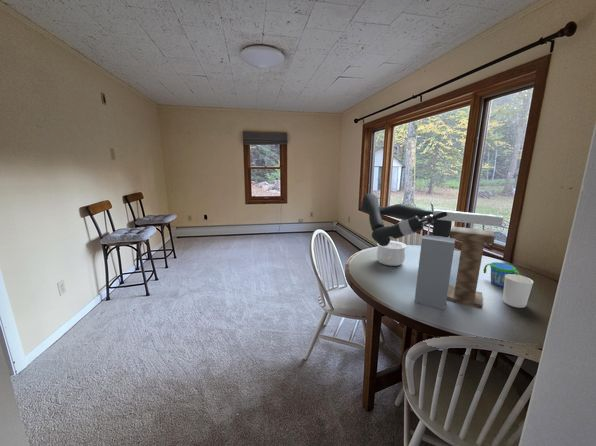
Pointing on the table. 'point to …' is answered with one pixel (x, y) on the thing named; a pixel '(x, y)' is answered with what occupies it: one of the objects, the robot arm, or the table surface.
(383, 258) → the pot
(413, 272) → the table surface
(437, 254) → the slate plinth
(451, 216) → the aluminium bar
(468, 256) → the walnut pedestal
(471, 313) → the table surface
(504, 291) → the candle holder
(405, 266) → the table surface
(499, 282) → the snack cup
